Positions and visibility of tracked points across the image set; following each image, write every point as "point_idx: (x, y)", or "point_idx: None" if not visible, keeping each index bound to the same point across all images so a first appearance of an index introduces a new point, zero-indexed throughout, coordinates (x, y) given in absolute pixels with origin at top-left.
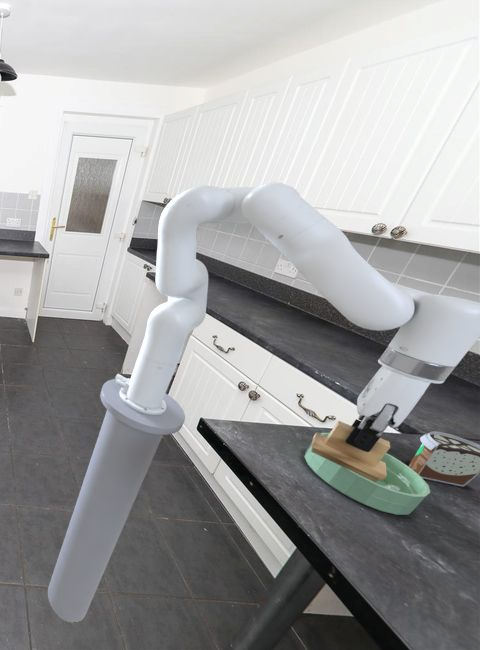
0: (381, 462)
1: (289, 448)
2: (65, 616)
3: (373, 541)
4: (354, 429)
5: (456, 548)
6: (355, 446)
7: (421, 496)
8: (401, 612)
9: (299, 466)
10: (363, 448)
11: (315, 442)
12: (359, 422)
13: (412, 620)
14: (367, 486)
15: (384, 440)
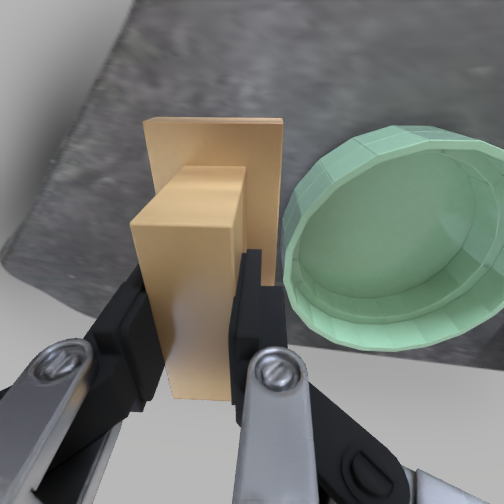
0: None
1: (424, 80)
2: None
3: None
4: (105, 312)
5: (294, 335)
6: None
7: (326, 337)
8: (46, 271)
9: (329, 119)
10: None
11: (145, 126)
12: (228, 348)
13: (48, 279)
14: (283, 260)
15: (226, 390)
